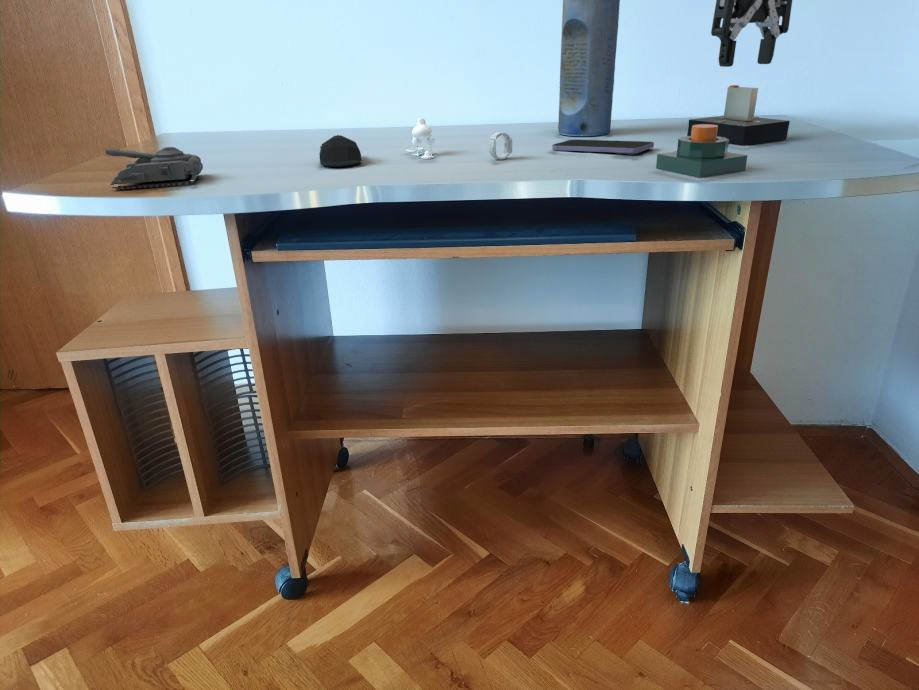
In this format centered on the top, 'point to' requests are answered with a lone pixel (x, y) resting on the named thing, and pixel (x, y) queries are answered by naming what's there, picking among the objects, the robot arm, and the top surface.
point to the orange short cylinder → (704, 132)
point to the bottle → (587, 66)
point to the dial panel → (746, 129)
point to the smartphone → (604, 146)
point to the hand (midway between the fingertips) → (745, 65)
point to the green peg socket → (701, 158)
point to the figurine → (422, 138)
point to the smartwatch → (506, 145)
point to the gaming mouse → (339, 152)
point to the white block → (740, 103)
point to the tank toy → (157, 168)
